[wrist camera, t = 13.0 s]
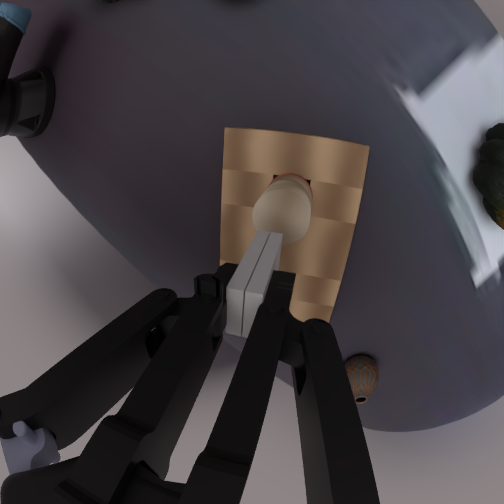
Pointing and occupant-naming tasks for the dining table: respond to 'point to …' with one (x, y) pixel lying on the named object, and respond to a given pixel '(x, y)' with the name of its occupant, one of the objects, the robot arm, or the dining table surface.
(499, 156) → the squash
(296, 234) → the beech peg
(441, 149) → the dining table surface
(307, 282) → the oak board
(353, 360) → the vase
